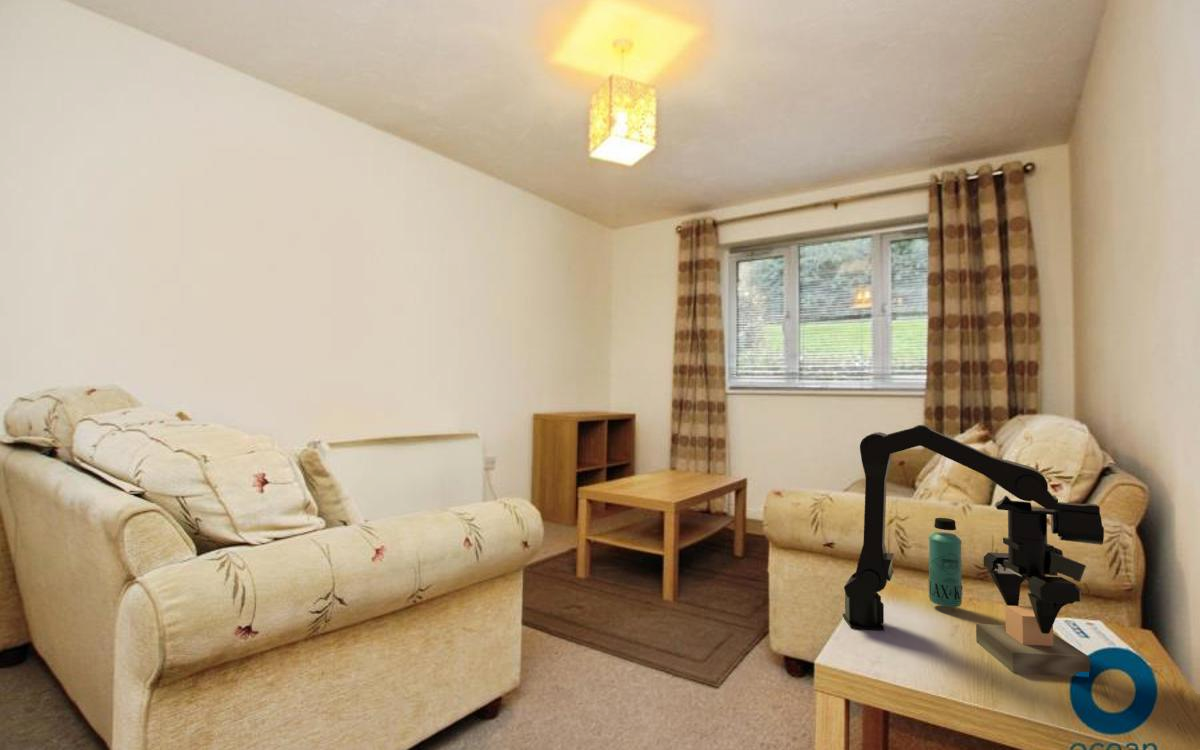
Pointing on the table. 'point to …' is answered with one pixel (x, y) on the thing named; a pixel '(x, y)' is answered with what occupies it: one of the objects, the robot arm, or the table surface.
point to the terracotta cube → (1026, 626)
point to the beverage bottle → (945, 565)
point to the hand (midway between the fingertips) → (1028, 622)
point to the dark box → (1031, 653)
